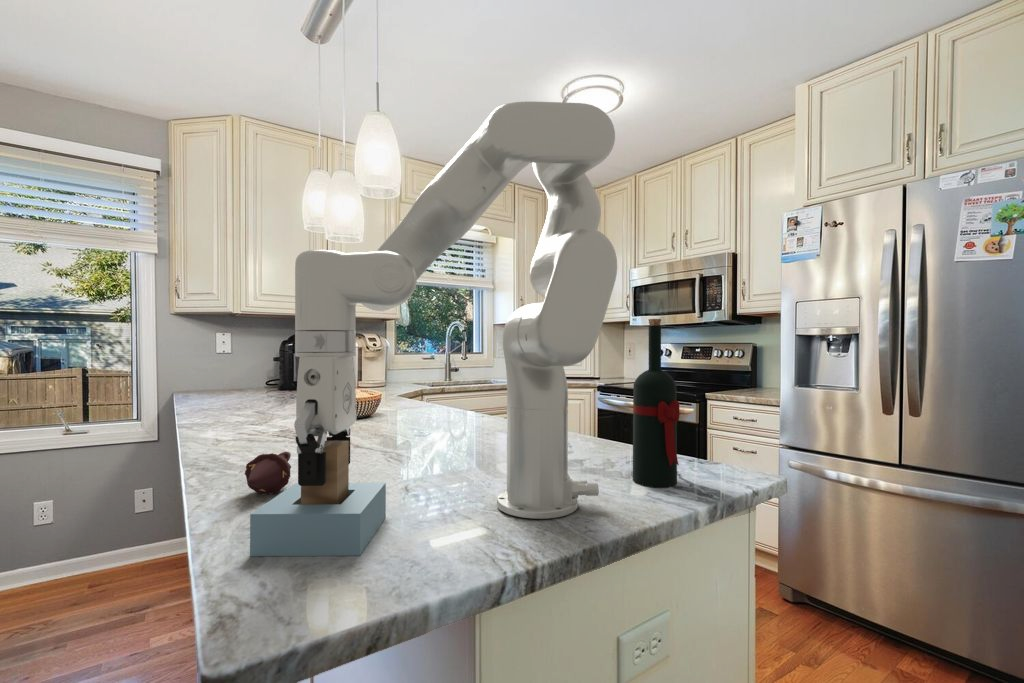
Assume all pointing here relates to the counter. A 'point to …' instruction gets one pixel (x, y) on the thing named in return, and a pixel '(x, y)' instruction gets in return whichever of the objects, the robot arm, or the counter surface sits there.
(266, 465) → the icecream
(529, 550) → the counter surface
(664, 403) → the wine bottle
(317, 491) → the walnut peg
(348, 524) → the socket block
